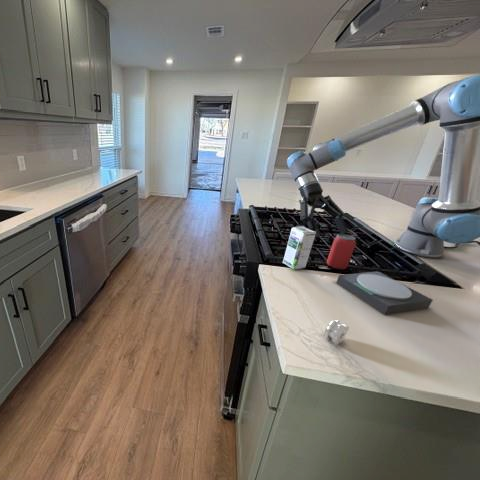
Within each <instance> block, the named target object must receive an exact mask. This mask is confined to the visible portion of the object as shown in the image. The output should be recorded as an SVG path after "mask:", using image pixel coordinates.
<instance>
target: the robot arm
mask: <svg viewBox="0 0 480 480" xmlns="http://www.w3.org/2000/svg"><path fill="white" fill-rule="evenodd" d="M437 121H439V129H441V130H442V131H443V132H444V141H443V142H444V143H443V151H442V152H443V153H442V162H441V170H440V180H439V191H438V198H437V197H421V199H420V200H419V201H418V203H417V204H416V207H415V209H414V212H413V213H412V216H411V219H410V220H409V223H408V225H407V228H406V230H405V231H404V232H403V233H402V234H401V235H399V237H398V238H397V239H396V240H395V241H394V244H393V246H394V247H395V248H396V249H397V250H399V251H402V252H404V253H406V254H409V255H413V256H417V257H421V258H427V259H440V258H442V256H443V254H444V249H448V250H454V249H458V247H459V245H463V244H473V243H476V244H477V245H480V241H479V240H477V239H479V238H480V201H479V200H477V199H476V197H477V191H478V185H479V179H480V178H479V177H480V74H474V75H471V76H468V77H466V78H462V79H459V80H456V81H452V82H450V83H447V84H445V85H443V86H441V87H439V88H437V89H436V90H434V91H432V92H430V93H427V94H426V95H424V96H421V97H420V98H417V99H415V100H413V101H412V102H411V103H410V105H408V106H406V107H403V108H401V109H398V110H396V111H394V112H392V113H390V114H387V115H385V116H383V117H380V118H377V119H376V120H373V121H370V122H369V123H366V124H364V125H361V126H359V127H356V128H355V129H352V130H350V131H347V132H345V133H343V134H341V135H340V134H339V135H338V136H335V137H333V138H332V139H329V140H326V141H324V142H320V143H318V144H316V145H315V146H314V147H313V148H312V151H309V152H307V153H306V152H305V151H303V150H299V151H297V152H294V153H292V154H291V155H289V156H288V158H287V159H286V165H287V167H288V169H289V172H290V174H291V176H292V178H293V181H294V183H295V185H296V187H297V189H298V191H299V194H300V196H301V198H300V199H299V200H298V203H299V205H300V207H299V209H300V212H299V213H300V215H299V216H300V219H299V220H300V222H302V223H303V224H307V226H308V229H310V230H312V231H315V232H316V234H315V238H314V239H317V238H320V237H321V236H322V233H321V231H320V228H319V225H318V224H317V222H316V219H313V217H314V214H315V210H316V209H320V210H323V211H324V212H326V213H327V214H328V215H329V216H331V217H332V218H333V222H334V224H335V226H336V228H337V230H338V232H339V234H347V233H349V230H348V228H347V226H346V224H345V221H344V219H343V217H344V216H345V212H344V211H343V210H342V209H341V208H340V207H339V206H338V205H337V203H336V202H335V201H334V200H333V199H332V198H331V196H330V195H329V194H327V195H326V196H324V195H323V192H324V190H323V187H322V185H321V183H319V182H320V181H319V178H318V176H317V174H316V173H315V171H316V170H317V171H318V169H320V168H322V167H325V166H327V165H329V164H332V163H334V162H338V161H339V160H340V159H342V158H344V157H346V155H347V153H348V152H351V151H353V150H355V149H358V148H360V147H363V146H366V145H368V144H371V143H373V142H375V141H378V140H381V139H383V138H386V137H388V136H391V135H394V134H397V133H399V132H402V131H403V130H406V129H409V128H411V127H414V126H417V127H421V126H424V125H426V124H429V123H432V122H437ZM445 243H448V244H455V245H454V246H445ZM395 244H396V245H397V246H398V247H397V246H396V245H395ZM399 247H400V248H399Z"/></svg>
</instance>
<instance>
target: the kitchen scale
mask: <svg viewBox="0 0 480 480" xmlns="http://www.w3.org/2000/svg"><path fill="white" fill-rule="evenodd" d="M336 284H337V285H338V286H339V287H342V288H343V289H345V290H346V291H348V293H351V294H352V295H353V296H355V297H356V298H358V299H360V300H361V301H363V302H364V303H366V304H367V305H369V306H370V307H372V308H373V309H375V310H376V311H377V312H379V313H381V314H382V315H384V316H385V315H386V316H387V315H392V314H393V315H394V314H399V313H406V312H412V311H419V310H425V309H429V308H430V306H431V304H432V303H433V301H434V300H433V299H432V298H430V297H429V296H427V295H425V294H422V293H420V292H418V291H417V290H415V289H413V288H411V287H409V286H407V285H405V284H403V283H402V282H400V281H397V280H396V279H394V278H392V277H390V276H388V275H386V274H383V273H382V272H380V271H367V272H359V273H358V272H357V273H348V274H339V275H338V277H337V280H336Z"/></svg>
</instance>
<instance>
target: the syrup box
mask: <svg viewBox="0 0 480 480" xmlns="http://www.w3.org/2000/svg"><path fill="white" fill-rule="evenodd" d="M315 234H316V232H315V231H312V230H310V229H309V228H307V227H306V226H294V227H291V230H290V233H289V236H288V241H287V246H286V249H285V251H284V252H285V253H284V257H283V260H282V264H284V265H286V266H287V267H288V268H290V269H292V270H293V271H295V270H301V269H305V268H306V267H307V263H308V261H309V256H310V254H311V250H312V248H313V244H314V240H315V239H316V238H315Z"/></svg>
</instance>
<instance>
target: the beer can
mask: <svg viewBox="0 0 480 480" xmlns="http://www.w3.org/2000/svg"><path fill="white" fill-rule="evenodd" d="M356 239H357V238H356V237H355V236H353V235H351V234H347V233H345V234H340V233H338V234H337V235H336V237H335V238H334V239H333V241H332V245H331V247H330V251H329V254H328V256H327V260H326V265H327V266H328V267H331V268H332V269H335V270H347V268H348V266H349V263H350V261H351V258H352V256H353V254H354V250H355V247H356V244H357V243H356V242H357V240H356Z"/></svg>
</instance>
